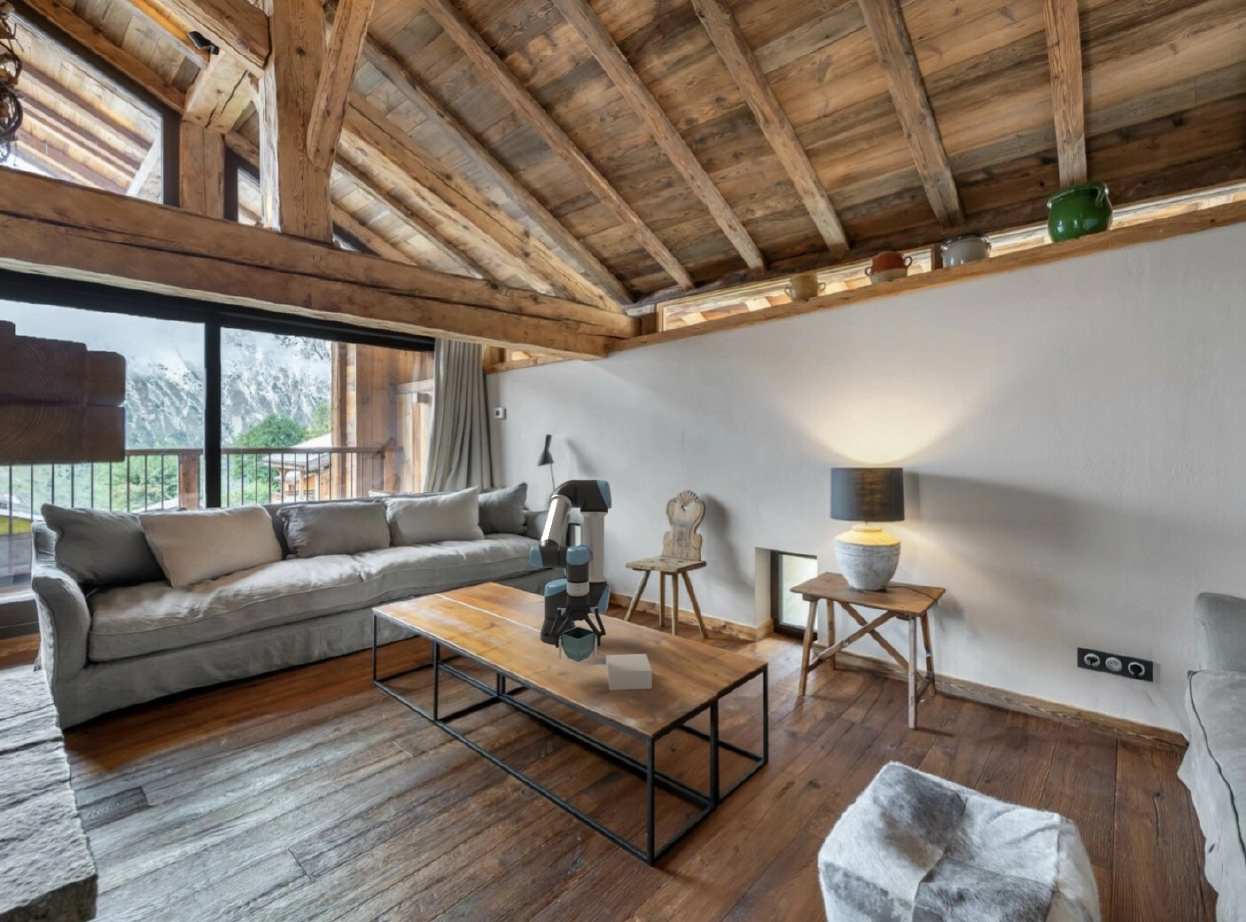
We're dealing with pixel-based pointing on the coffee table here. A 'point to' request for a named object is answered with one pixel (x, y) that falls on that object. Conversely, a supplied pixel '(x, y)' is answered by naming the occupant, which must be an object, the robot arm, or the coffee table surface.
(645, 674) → the stone slab
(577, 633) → the flower pot
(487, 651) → the coffee table surface
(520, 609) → the coffee table surface
